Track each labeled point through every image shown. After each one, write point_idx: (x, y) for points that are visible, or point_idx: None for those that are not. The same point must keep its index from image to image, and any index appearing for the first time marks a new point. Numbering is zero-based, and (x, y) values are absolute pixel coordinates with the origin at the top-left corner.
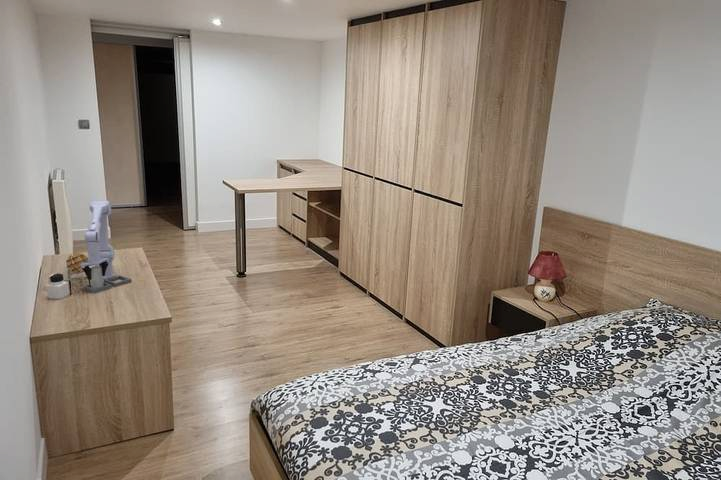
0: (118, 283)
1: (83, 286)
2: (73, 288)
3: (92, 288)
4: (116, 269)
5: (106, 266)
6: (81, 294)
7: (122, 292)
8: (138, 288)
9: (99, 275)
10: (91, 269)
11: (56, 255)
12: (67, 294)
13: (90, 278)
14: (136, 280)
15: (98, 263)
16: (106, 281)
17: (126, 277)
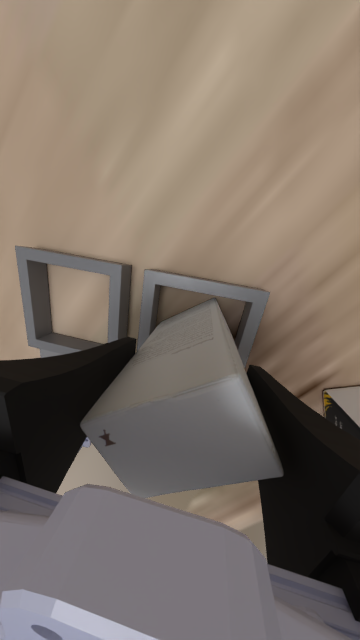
0: (101, 261)
1: None
2: None
3: (251, 320)
4: None
5: (35, 364)
6: (300, 339)
7: (175, 128)
8: (67, 93)
9: (185, 340)
10: (264, 456)
11: None
12: (346, 390)
13: (261, 370)
14: (6, 245)
15: (218, 561)
16: None
17: (22, 290)
